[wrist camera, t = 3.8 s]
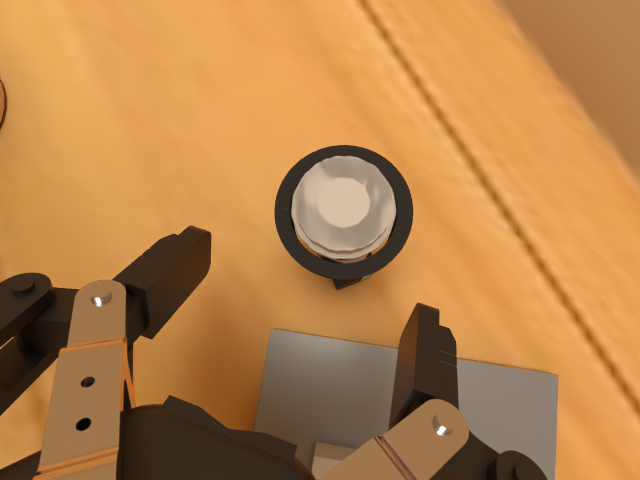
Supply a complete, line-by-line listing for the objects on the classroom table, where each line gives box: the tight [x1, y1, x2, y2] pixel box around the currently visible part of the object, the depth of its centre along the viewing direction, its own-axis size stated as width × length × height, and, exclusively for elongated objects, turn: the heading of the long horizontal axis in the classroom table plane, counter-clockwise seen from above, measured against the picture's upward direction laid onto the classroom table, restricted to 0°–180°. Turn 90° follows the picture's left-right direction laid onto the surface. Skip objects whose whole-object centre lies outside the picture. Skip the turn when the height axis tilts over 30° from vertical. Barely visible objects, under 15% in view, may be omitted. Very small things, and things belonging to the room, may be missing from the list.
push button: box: [275, 145, 413, 290], centre depth 18 cm, size 7×5×10 cm
